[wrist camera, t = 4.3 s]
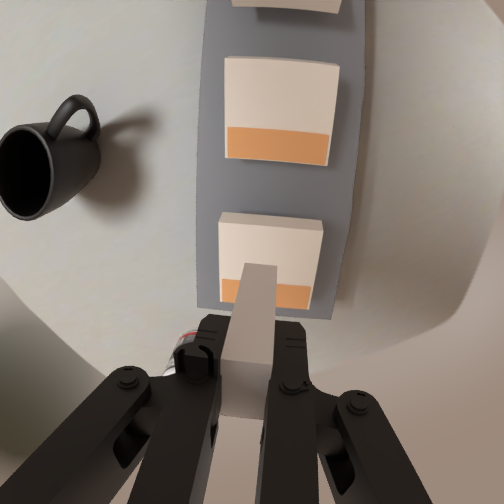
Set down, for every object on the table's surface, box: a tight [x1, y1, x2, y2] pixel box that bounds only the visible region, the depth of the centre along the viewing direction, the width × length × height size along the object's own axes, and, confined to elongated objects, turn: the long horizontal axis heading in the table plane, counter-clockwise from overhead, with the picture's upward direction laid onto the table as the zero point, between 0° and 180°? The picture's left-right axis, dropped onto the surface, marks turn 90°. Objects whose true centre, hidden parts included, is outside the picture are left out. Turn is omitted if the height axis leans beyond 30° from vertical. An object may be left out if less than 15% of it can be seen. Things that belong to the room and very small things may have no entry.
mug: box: [0, 95, 101, 221], centre depth 24 cm, size 8×12×10 cm
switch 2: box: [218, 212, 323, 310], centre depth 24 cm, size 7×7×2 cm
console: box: [196, 0, 366, 320], centre depth 24 cm, size 34×12×6 cm, turn 177°
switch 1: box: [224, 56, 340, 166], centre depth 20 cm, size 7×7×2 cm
